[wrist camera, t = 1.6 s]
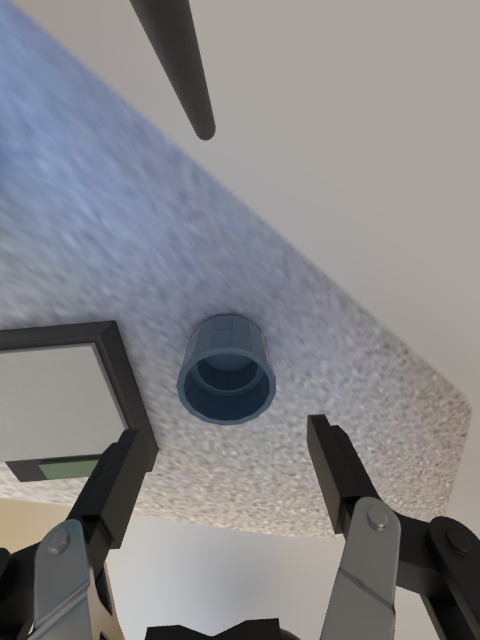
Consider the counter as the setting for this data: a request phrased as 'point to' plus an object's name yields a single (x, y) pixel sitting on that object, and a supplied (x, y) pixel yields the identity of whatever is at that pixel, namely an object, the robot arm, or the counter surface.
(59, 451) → the kitchen scale
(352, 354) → the counter surface
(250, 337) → the blue cup
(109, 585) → the robot arm
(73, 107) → the counter surface
